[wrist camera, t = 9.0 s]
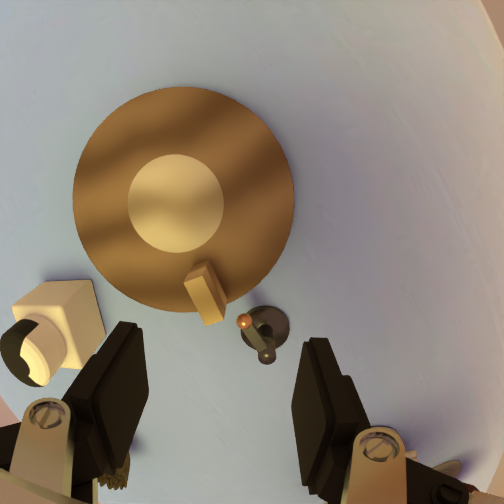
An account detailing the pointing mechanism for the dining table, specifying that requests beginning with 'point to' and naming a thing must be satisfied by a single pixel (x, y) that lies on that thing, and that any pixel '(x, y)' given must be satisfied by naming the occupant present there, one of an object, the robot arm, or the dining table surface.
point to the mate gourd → (453, 471)
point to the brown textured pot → (117, 476)
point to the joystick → (264, 331)
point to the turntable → (183, 200)
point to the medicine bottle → (52, 331)
